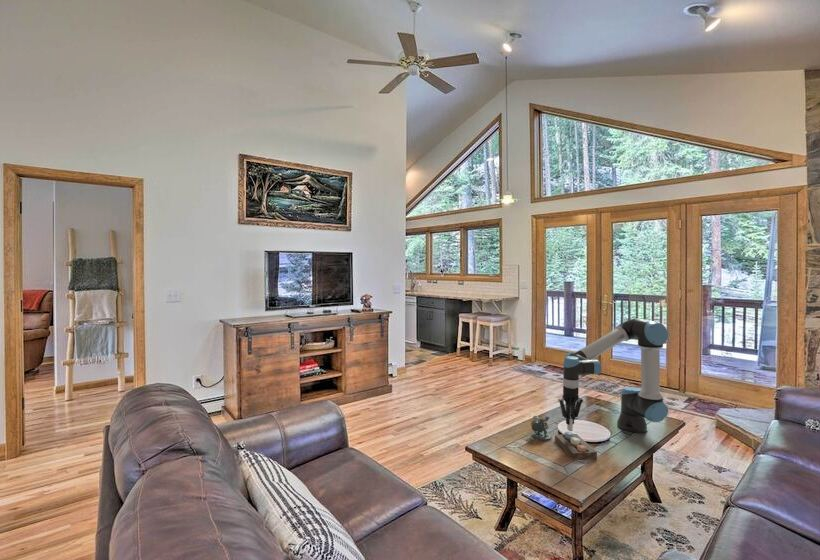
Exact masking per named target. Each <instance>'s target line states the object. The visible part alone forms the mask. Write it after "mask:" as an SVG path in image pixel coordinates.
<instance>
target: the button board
mask: <svg viewBox="0 0 820 560" xmlns="http://www.w3.org/2000/svg"><path fill="white" fill-rule="evenodd" d="M564 436H565V433H564V434H555V435H554V442H555V443H556V444H557V446H559V447H560V448H561V449H562V450H563V452H565V453H566V455H568V456H569V458H571V460H573V461H584V460H587V461H588V460H597V459H598V452H597V451H596V449H595V448H593V447H592V446H591V445H590V444H589V443H587V441H586V440H584V439H583V438H582V437H581V436H580V435H579V434H577V433H573V437H575V438H578V439H580V445H584V446H586V447H587V449H586V452H579V451H577V446H572V445H571V444H570V442H571V440H566V439H565V438H564Z"/></svg>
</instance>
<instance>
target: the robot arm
mask: <svg viewBox="0 0 820 560" xmlns="http://www.w3.org/2000/svg"><path fill="white" fill-rule="evenodd" d="M668 331H669V330H668V329H667V327H666V326H665V325H664V324H662V323H661V322H659V321H658V322H657V321H656V320H655V321H654V320H650V319H645V318H642V317H641V318H637V317H635V318H631V319H628V320H626V321H624V322H622V323H620V324H618V325H617V326H615V328H614V329H613V330H612V331H610V332H608V333H607V334H605V335H603V336H602V337H600V338H598V339H596V340H595V341H593V342H591V343H590V344H588V345H586V346H583V348H580V349H579V350H578V351H576V352H573V351H570V352H567V353H566V355H565V357H563V370H562V371H563V375H562V377H563V386H562V397H561V398H558V399H557V401H558V402H559V407H560V410H561V415H562V417H564V418H565V423H566V427H567V428H566V429H567V430H568V432H573V426H574V424H575V420H576V418H578V417H579V413H580V409H581V405H582V403H583V402H584V400H583V399H582V398H581V397H579V392H580V391H579V389H580V388H579V387H580V386H579V384H580V383H579V382H580V380H579V379H580V376H587V375H589V376H590V375H591V376H592V375H598V374H600V373H601V372H602V363H601V362H600V361H599V360H598V359H595V358H597V357H598V356H600V355H602V354H604V353H605V352H608V351H609V350H611V349H612V348H614V347H616V346H617V345H619V344H621V343H622V342H629V341H630V340H632V339H634V340H637V346H638V348H640V367H641V368H640V371H641V373H640V378H641V379H640V383H641V385H640V387H635V386H626V387H623V388H622V389H621V396H620V398H621V399H620V413H619V416H618V419H617V422H616V426H617V427H618V428H620V429H621V430H624V431H626V432H628V433H629V432H630V433H635V434H642V433H646V432H647V431H648V425H647V423H646V422H647V421H650V422H651V423H660V422H663V421H664V419H666V418H667V416H668V414H669V407H668V405H667V404H666V403H664V396H663V394H662V393H661V392H660V391H661V390H660V388H661V387H660V386H661V385H660V383H661V382H660V381H661V379H660V374H661V373H660V370H661V369H660V365H661V363H660V362H661V361H660V358H661V357H660V353H661V349H663V347H664V345H665V343H666V342H667V341H668V339H669V332H668ZM646 420H647V421H646Z"/></svg>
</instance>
